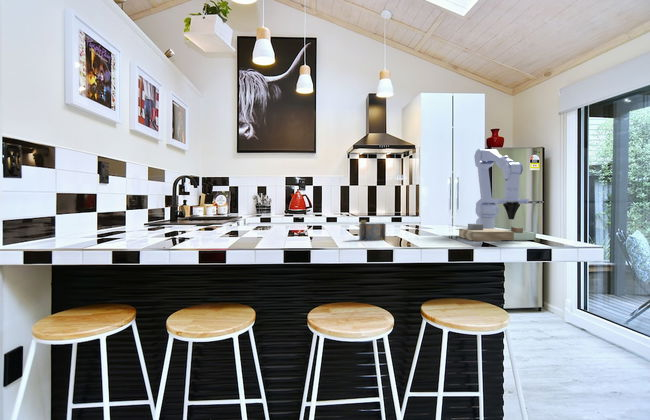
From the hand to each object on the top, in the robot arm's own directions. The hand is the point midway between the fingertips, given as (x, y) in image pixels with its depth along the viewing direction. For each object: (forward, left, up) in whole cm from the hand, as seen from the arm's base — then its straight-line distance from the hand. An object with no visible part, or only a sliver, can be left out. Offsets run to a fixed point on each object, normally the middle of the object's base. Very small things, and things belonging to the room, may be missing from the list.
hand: (511, 219), depth 155 cm
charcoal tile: (-7, -13, -5) cm, 16 cm away
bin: (-3, +4, -9) cm, 11 cm away
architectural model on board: (0, -63, -10) cm, 64 cm away
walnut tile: (0, +1, -6) cm, 6 cm away
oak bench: (-3, -10, -9) cm, 14 cm away
